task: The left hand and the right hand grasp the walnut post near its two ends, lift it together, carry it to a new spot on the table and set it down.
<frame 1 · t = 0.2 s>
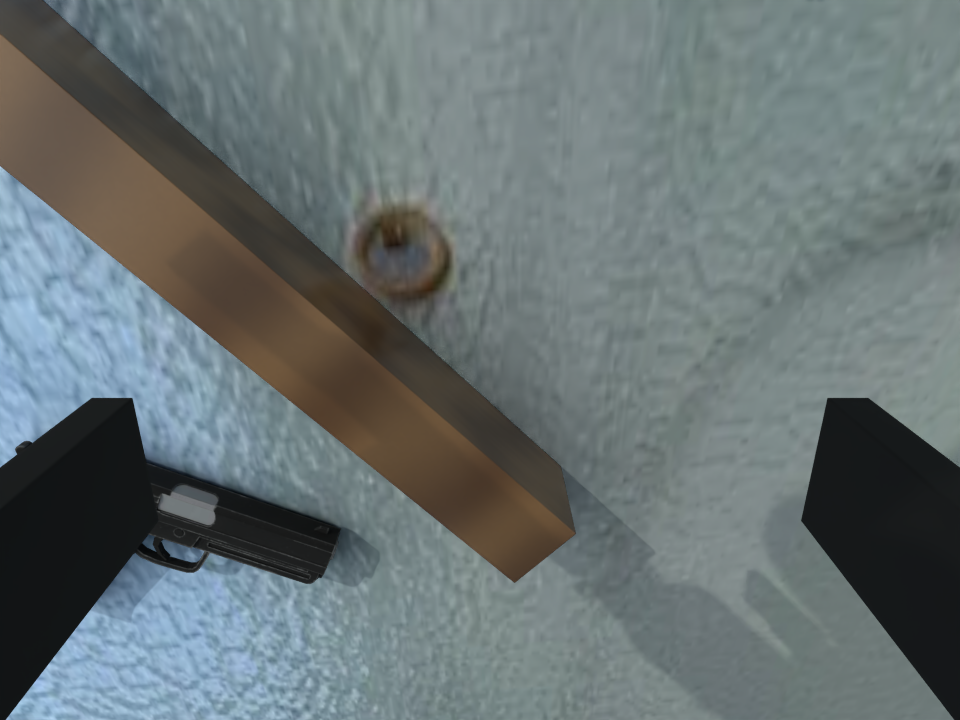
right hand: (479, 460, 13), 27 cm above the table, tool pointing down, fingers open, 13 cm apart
handgun 2: (173, 544, 46), on the table
post: (138, 142, 36), on the table
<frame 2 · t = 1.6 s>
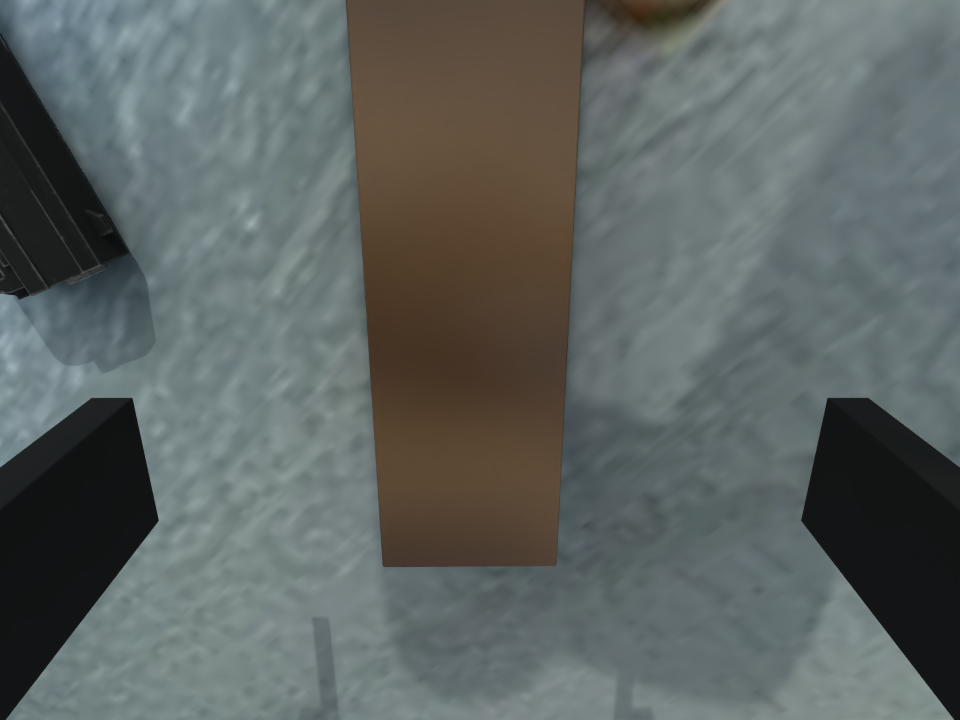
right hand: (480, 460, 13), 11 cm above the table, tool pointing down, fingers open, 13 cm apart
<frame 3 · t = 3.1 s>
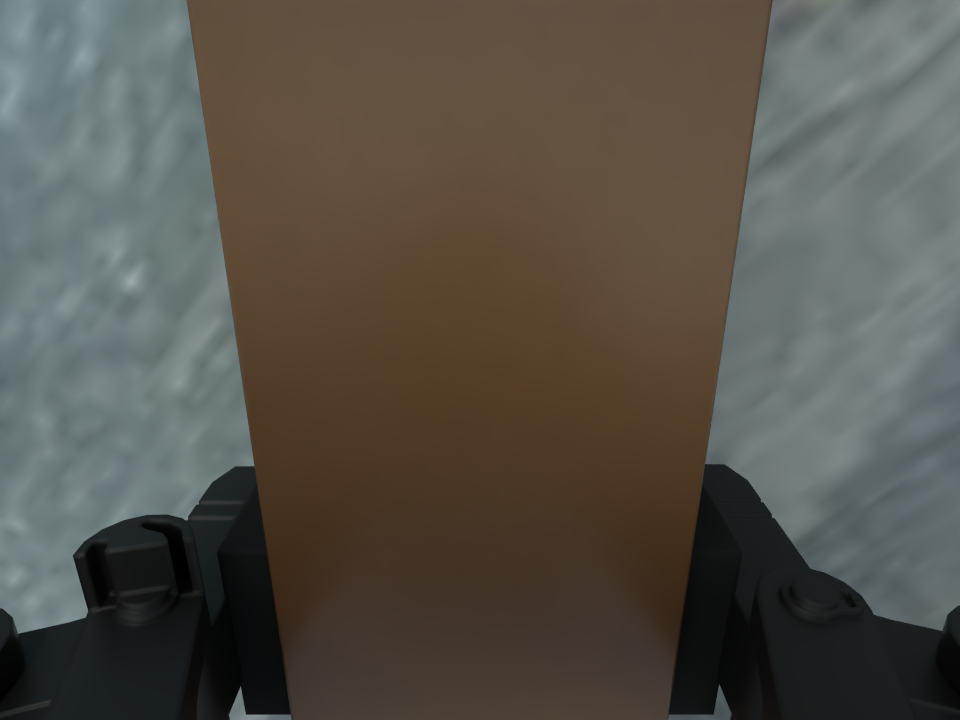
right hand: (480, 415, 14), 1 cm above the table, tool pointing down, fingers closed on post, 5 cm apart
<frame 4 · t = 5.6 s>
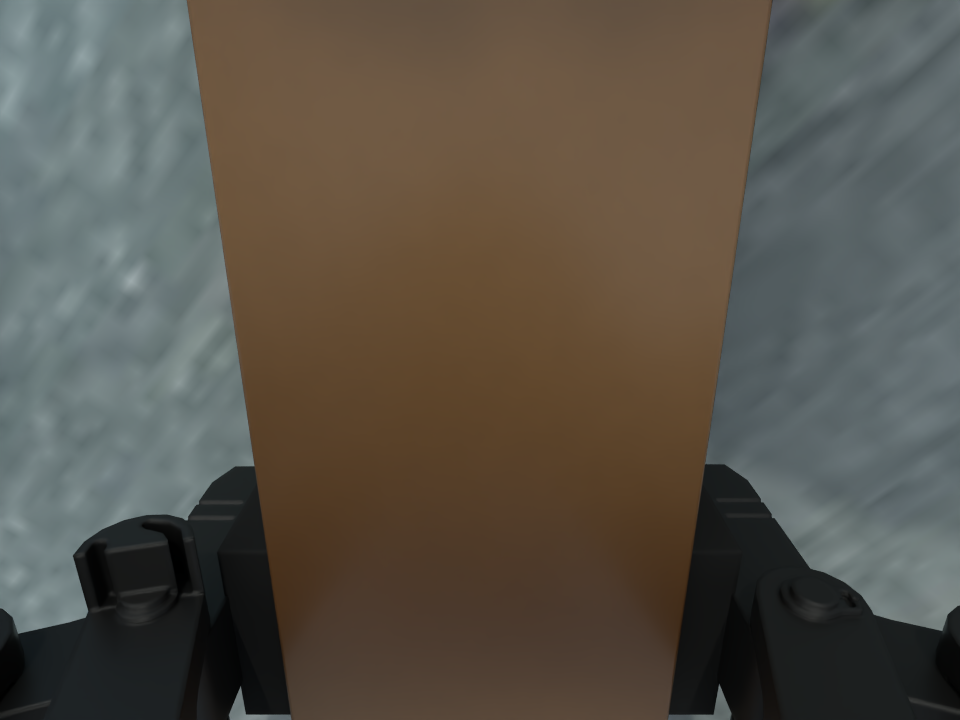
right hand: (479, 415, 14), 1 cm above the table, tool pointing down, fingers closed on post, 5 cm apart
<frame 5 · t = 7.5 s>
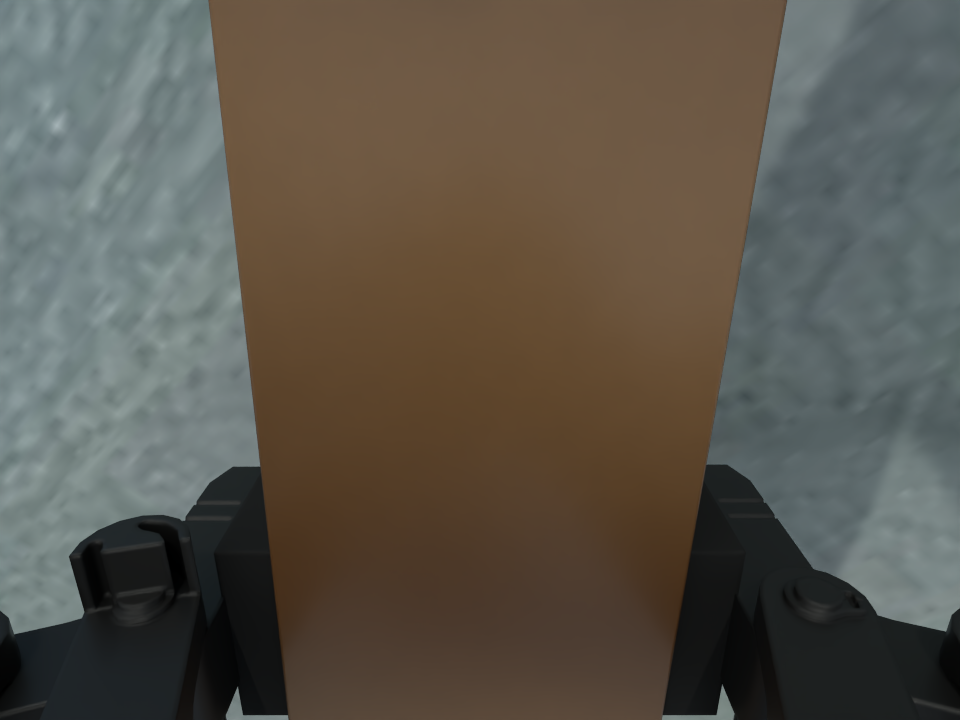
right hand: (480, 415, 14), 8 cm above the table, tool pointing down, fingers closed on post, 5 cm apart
when the left hand's fingers open (2 cm above the table, at t = 9.6 s): post drops 1 cm, on the table.
when the right hand's fingers open (2 cm above the table, at t = 9.6 s): post drops 1 cm, on the table.
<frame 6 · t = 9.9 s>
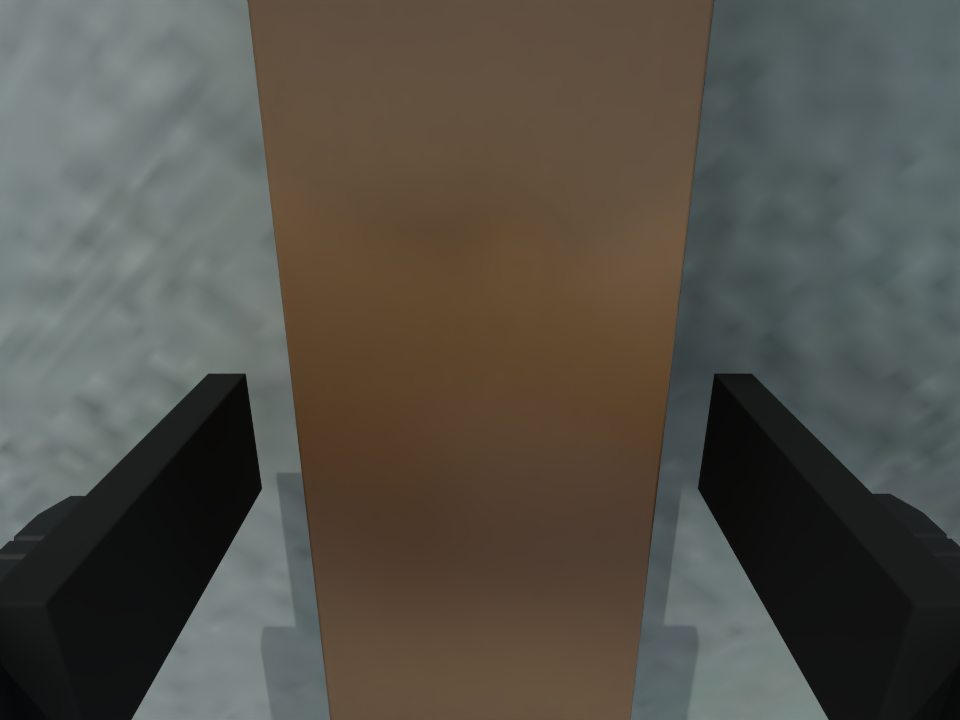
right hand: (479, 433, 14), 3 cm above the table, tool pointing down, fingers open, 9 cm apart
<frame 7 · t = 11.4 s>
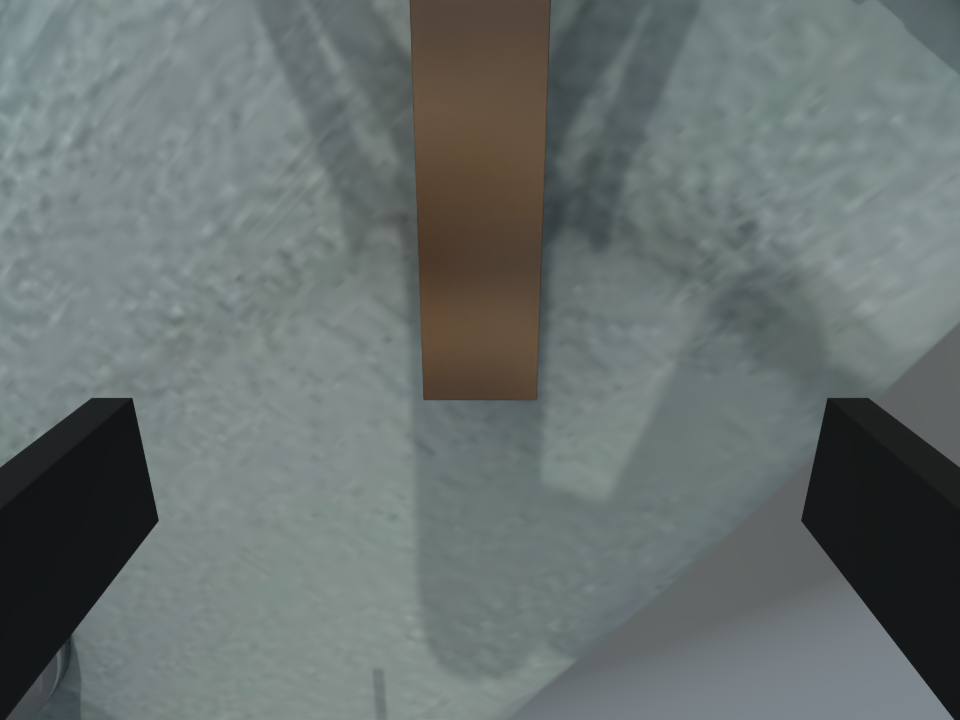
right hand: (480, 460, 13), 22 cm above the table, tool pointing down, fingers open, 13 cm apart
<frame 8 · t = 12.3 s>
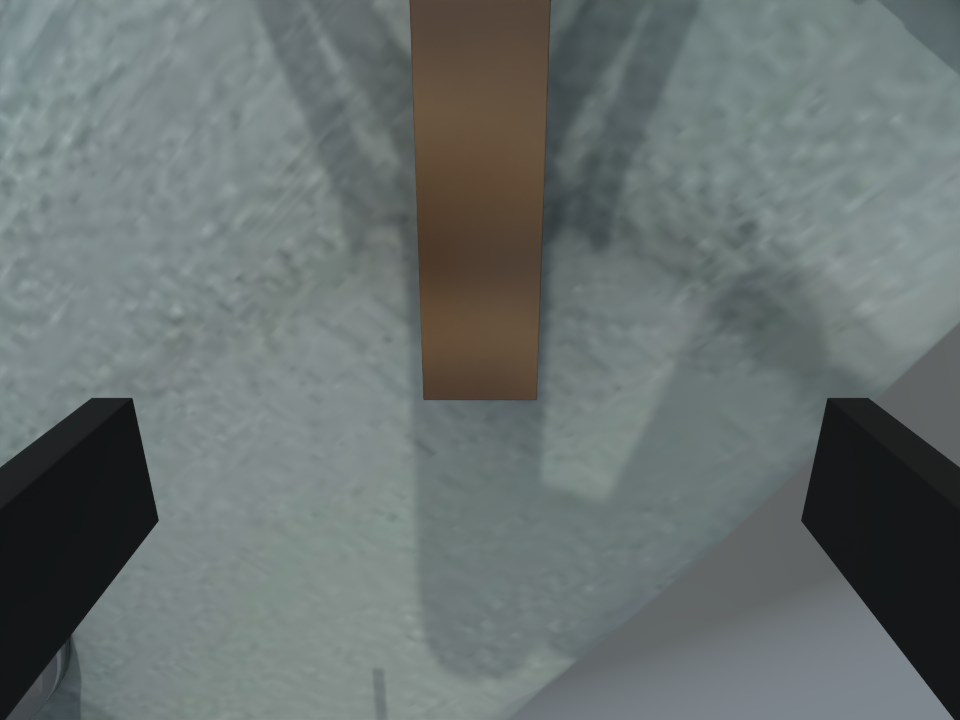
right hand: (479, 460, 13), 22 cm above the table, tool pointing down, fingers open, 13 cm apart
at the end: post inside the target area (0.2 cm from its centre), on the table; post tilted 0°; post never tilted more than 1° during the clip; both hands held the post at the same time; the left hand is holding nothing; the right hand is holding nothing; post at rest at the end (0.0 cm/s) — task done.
